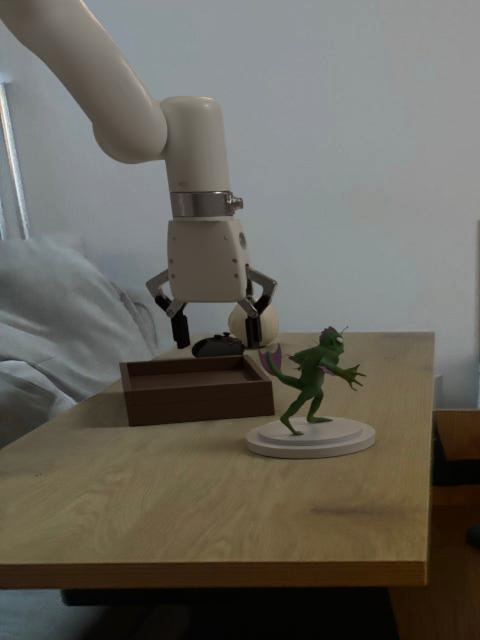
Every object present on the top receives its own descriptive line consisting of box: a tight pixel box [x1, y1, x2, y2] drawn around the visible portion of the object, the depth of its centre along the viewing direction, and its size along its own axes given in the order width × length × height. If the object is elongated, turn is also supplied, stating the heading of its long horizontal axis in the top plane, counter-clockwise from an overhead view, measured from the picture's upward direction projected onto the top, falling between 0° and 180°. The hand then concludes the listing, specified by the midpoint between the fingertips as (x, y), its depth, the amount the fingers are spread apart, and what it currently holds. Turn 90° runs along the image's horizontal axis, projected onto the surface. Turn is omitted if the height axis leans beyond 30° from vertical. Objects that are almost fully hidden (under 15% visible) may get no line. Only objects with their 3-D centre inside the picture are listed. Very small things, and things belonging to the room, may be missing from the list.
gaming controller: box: [190, 331, 246, 358], centre depth 132 cm, size 10×5×6 cm
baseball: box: [227, 297, 280, 348], centre depth 143 cm, size 7×7×7 cm
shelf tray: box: [118, 354, 276, 427], centre depth 108 cm, size 15×18×4 cm
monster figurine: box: [245, 325, 376, 459], centre depth 90 cm, size 12×12×10 cm
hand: (219, 347), depth 132 cm, fingers open, 9 cm apart
